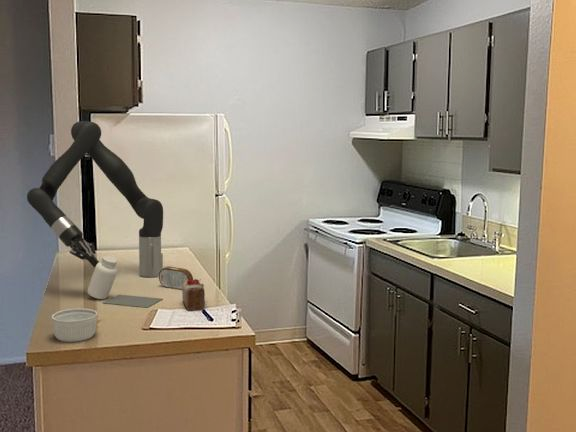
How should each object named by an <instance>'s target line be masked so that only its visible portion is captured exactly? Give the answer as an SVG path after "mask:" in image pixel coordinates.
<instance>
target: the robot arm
mask: <svg viewBox="0 0 576 432" xmlns="http://www.w3.org/2000/svg"><path fill="white" fill-rule="evenodd" d="M70 134H71V137H72V140H73V143H72V144H71V145H70V146H69V148H68V149H66V151H65V152H64V153H62V155H60V156H59V157H58V158H57V159H56V160H55V161H54V162H53V163H52V164H51V165H50V167H49V168H48V169H47V171H46V172H45V174H44V175H43V177H42V179H41V184H40V186H39V187H33V188H32V189H29V190H28V192H27V194H26V199H27V202H28V204H29V205H30V206H31V207H32V208H33V209H34V211H36V212H37V213H38V214H39V215H40V216H41V217H42V219H43V220H44V222H45V223H46V224H47V225H48V226H49V228H50V229H51V230H52V231H53V233H54V234H55V235H56V236H57V238H58V239H60V241H61V242H62V244H64V245H65V247H69V248H70V251H69V253H70V254H71V255H73V256H75V257H76V258H78V259H79V260H81V261H84V260H85V261H88V262H89V264H90V265H91V266H92V267H93V268H95V267H96V265H97V263H99V262H100V261H99V260H98V259H97V257H95V255H96V253H97V252H96V248H95V244H94V242H88V241H87V240H86V239H85V238H84V237H83V235H84V233H83V231H81V230H80V228H79V227H78V226H77V225H76V224H75V223H74V222H73V220H71V219H70V218H69V216H67V215H66V214H65V213H64V211H63V210H62V209H60V208H59V207H58V206H57V204H55V202H54V199H55V196H56V195H57V192H58V190H59V188H60V187H61V186H62V184H63V183H64V181H66V179H67V178H68V176H69V175H70V173H71V172H72V171H73V169H74V168H75V167H76V166H77V165H78V163H79V162H80V161H81V160H82V158H83V157H84V156H85V155H86V154H88V156H89V157H90V158H91V159H92V160H93V162H94V163H95V164H96V166H97V167H98V168H99V169H100V170H101V171H102V172H103V174H104V175H105V176H106V178H107V179H108V181H110V183H111V184H112V185H113V186H114V187H115V188H116V189H117V190H118V192H120V194H121V195H122V196H123V197H124V198H125V200H127V202H128V204H129V206H131V208H132V210H133V211H134V212H135V214H136V215H137V216H138V218H140V219H142V220H143V225H142V227H141V228H139V230H138V255H139V257H138V258H139V259H138V260H139V261H138V262H139V263H138V264H139V277H141V278H142V277H143V278H156V277H159V272H160V271H161V270H162V269H163V268H164V265H163V264H164V260H163V259H164V257H163V256H164V255H163V253H162V231H163V228H164V208H163V204H162V202H161V201H160V200H158V199H155V198H150V197H148V195H146V194H145V193H144V192H143V191H142V189H141V188H139V186H138V184H137V181H136V177H135V175H134V173H133V172H132V170H131V169H130V168H129V166H128V165H127V164H126V163H125V161H124V160H123V159H122V158H121V157H120V156H118V155H117V154H116V153H114V152H113V151H112V150H110V149H109V148H108V147H107V146H105V145H104V143H103V142H102V141H101V136H102V129H101V126H99V124H98V123H96V122H93V121H89V120H87V121H86V120H82V121H81V120H80V121H77V122H75V123H73V124H72V126H71V129H70Z"/></svg>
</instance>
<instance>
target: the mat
mask: <svg viewBox="0 0 576 432" xmlns="http://www.w3.org/2000/svg"><path fill="white" fill-rule="evenodd" d="M162 301H163V298H161V297H150V296H148V297H147V296H141V295H140V296H139V295H130V294H129V295H127V294H117V295H116V296H113V297H111V298H109V299H108V300H104V301H103V302H102V304H104V305H113V306H115V305H116V306H122V307H123V306H125V307H131V308H132V307H133V308H134V307H135V308H144V309H149V308H150V307H152V306H154V305H156V304H158V303H159V302H162Z"/></svg>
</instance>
